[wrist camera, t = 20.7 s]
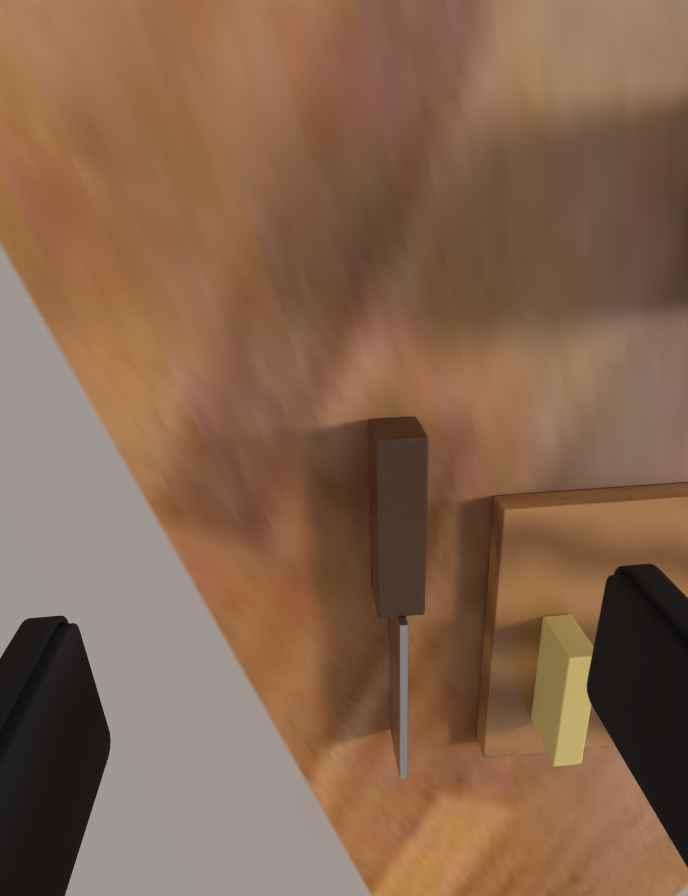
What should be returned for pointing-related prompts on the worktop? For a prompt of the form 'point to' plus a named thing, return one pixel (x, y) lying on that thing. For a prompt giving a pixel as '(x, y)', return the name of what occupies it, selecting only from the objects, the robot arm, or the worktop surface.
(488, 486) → the worktop surface
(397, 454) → the knife
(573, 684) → the butter pat
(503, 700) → the cutting board
